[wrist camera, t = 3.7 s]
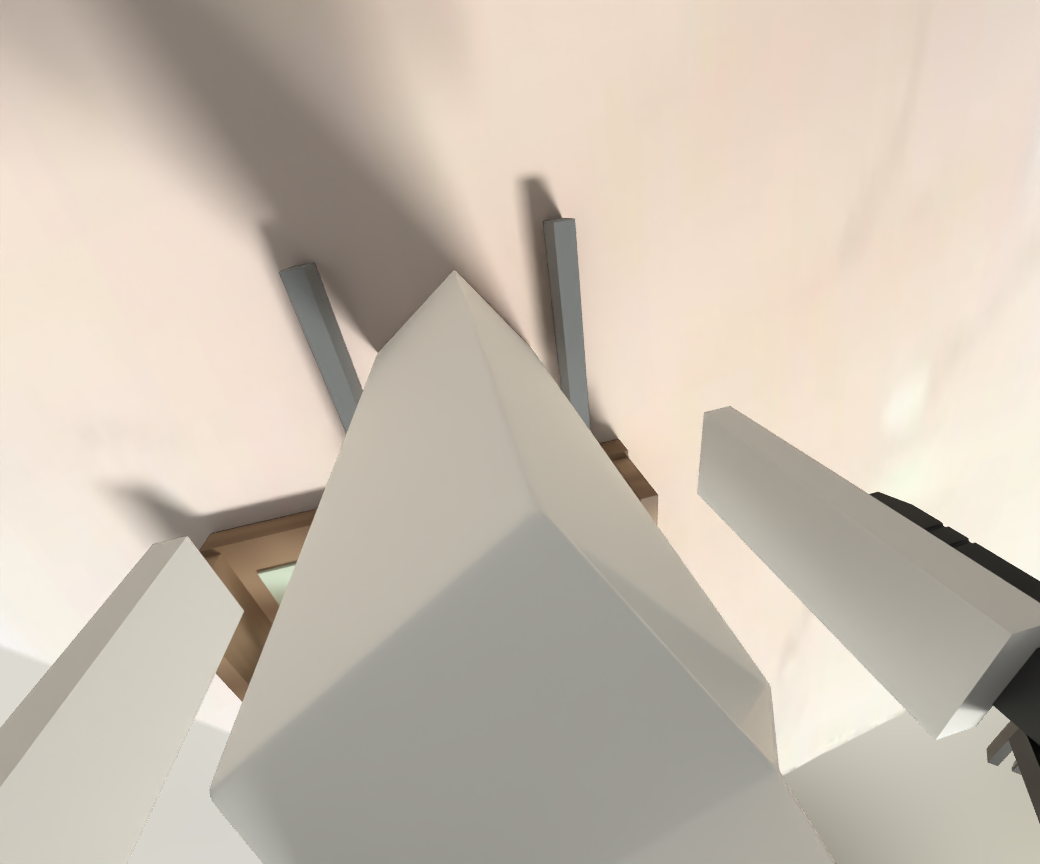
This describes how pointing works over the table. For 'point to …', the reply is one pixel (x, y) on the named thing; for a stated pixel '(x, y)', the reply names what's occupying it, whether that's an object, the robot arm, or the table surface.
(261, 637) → the box
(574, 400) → the bracket
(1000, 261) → the table surface
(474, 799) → the milk
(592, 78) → the table surface
